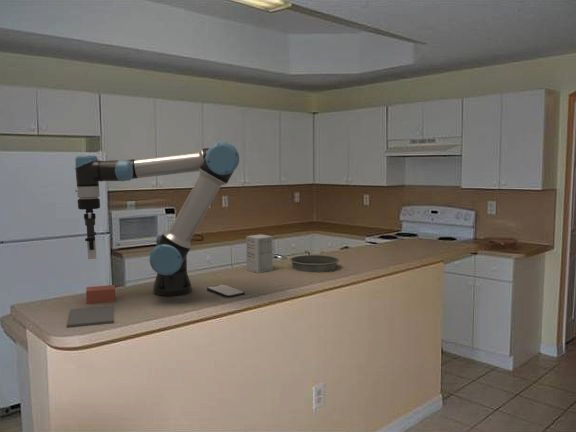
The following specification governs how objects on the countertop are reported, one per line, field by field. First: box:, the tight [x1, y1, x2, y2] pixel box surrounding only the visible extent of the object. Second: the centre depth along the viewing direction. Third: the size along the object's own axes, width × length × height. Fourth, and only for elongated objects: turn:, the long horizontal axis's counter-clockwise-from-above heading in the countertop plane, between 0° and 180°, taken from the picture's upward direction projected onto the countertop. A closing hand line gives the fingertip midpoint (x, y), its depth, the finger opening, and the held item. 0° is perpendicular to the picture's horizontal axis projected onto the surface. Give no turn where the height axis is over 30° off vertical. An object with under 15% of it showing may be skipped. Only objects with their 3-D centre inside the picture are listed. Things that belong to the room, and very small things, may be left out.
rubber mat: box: [66, 305, 115, 328], centre depth 170 cm, size 14×18×1 cm
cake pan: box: [289, 254, 340, 273], centre depth 253 cm, size 25×25×4 cm
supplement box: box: [245, 233, 274, 274], centre depth 245 cm, size 10×9×17 cm
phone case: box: [206, 284, 246, 299], centre depth 203 cm, size 9×2×16 cm
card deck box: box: [85, 284, 116, 305], centre depth 190 cm, size 10×6×5 cm, turn 110°
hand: (92, 255), depth 186 cm, fingers open, 13 cm apart
